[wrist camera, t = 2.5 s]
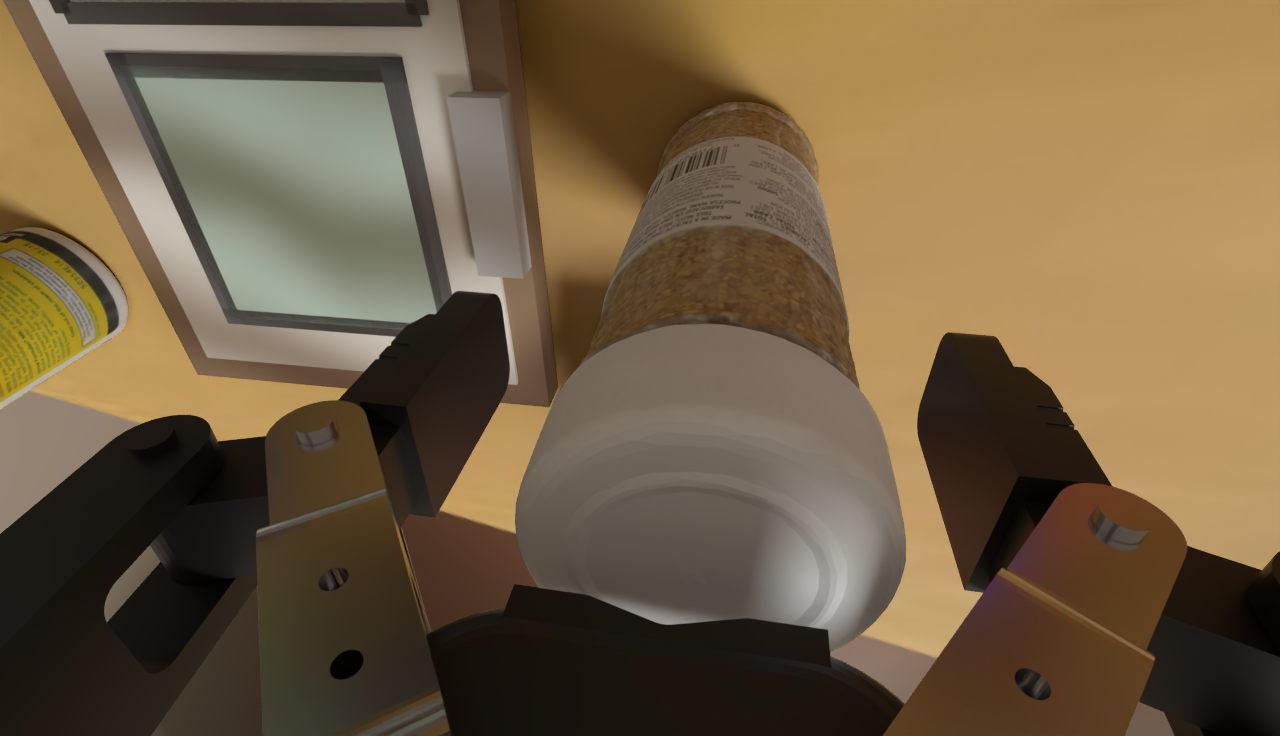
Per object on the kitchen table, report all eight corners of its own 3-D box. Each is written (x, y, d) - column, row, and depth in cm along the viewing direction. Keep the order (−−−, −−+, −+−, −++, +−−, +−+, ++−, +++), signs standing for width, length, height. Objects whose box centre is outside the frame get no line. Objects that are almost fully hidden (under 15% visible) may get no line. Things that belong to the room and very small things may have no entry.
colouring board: (-33, -163, 16) (-122, -172, 14) (494, -184, 14) (459, -197, 12) (219, 357, 25) (182, 387, 24) (557, 386, 23) (542, 421, 22)
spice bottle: (689, 271, 20) (598, 695, 9) (634, 130, 18) (427, 470, 7) (837, 228, 18) (943, 678, 7) (798, 67, 16) (868, 377, 5)
